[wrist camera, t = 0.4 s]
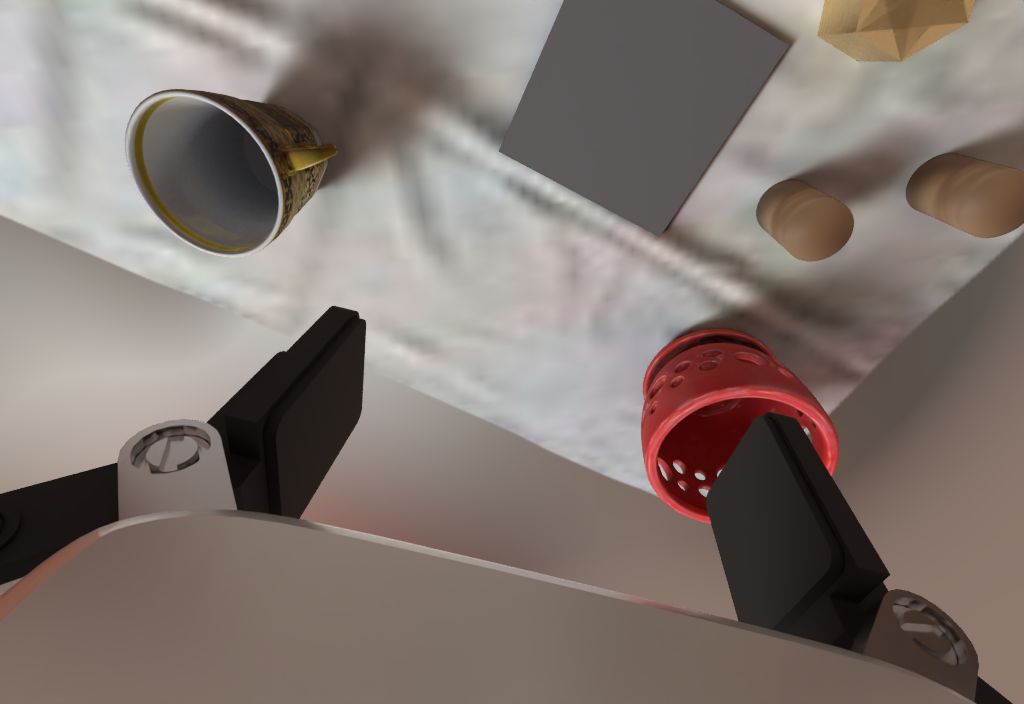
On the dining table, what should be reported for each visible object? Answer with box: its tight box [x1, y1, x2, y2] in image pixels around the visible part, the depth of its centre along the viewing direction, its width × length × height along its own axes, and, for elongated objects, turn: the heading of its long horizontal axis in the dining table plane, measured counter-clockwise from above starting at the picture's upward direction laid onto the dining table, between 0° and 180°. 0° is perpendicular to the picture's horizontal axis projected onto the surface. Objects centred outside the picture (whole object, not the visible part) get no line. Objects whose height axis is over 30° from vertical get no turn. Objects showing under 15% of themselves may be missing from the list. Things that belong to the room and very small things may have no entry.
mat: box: [499, 0, 789, 237], centre depth 33 cm, size 14×14×1 cm
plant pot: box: [641, 329, 840, 523], centre depth 39 cm, size 13×13×12 cm
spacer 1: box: [756, 180, 854, 261], centre depth 34 cm, size 4×4×6 cm
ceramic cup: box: [125, 89, 337, 257], centre depth 34 cm, size 13×10×10 cm
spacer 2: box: [906, 154, 1024, 238], centre depth 32 cm, size 4×4×6 cm
